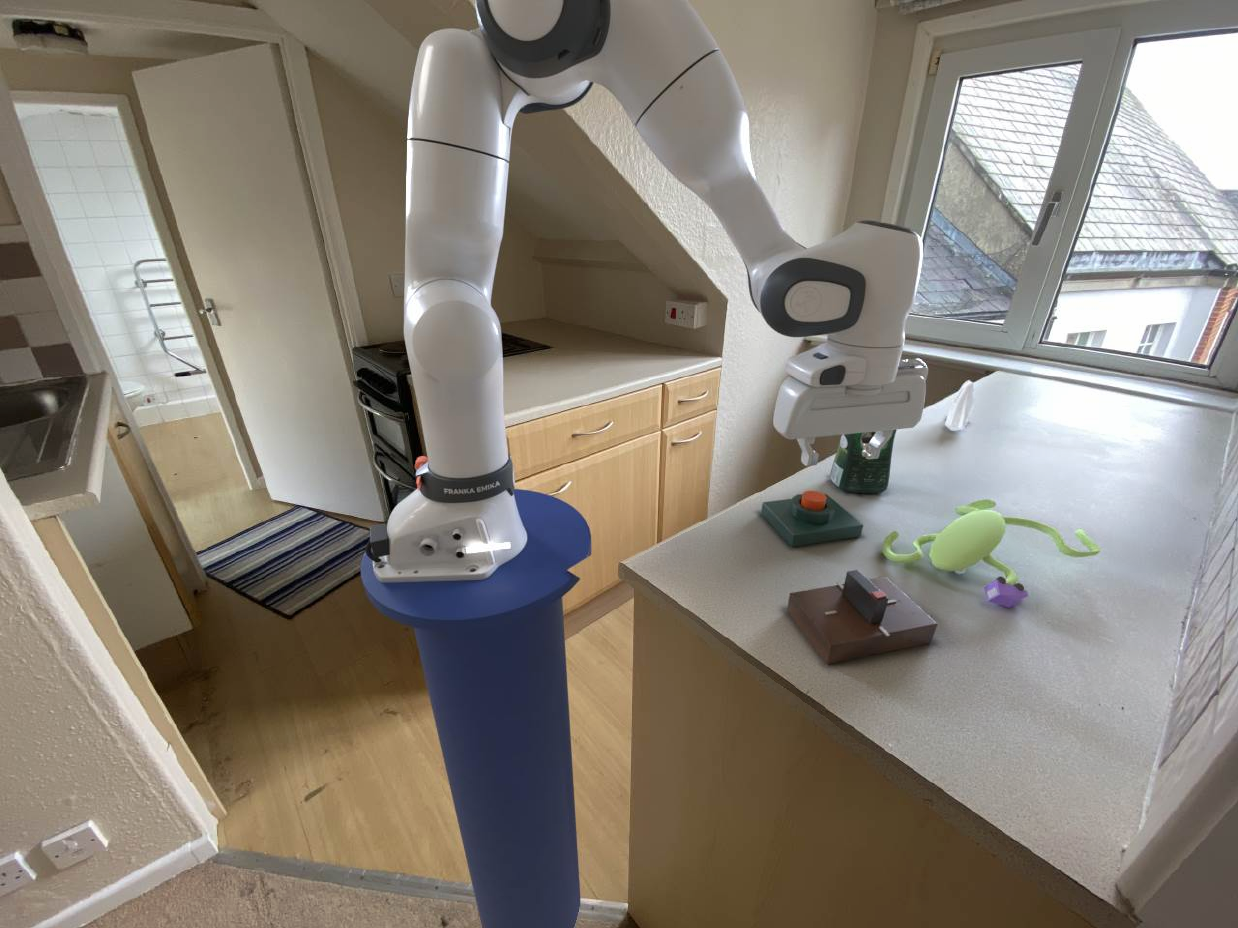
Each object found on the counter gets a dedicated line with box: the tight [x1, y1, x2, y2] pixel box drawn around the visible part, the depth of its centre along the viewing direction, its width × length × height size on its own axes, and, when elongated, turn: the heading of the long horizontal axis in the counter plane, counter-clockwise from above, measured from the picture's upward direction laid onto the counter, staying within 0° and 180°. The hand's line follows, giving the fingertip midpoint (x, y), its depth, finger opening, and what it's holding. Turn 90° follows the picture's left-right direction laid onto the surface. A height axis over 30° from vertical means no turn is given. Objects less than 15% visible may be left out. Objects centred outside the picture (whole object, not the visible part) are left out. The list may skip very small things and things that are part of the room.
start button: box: [801, 490, 826, 511], centre depth 84 cm, size 4×4×2 cm
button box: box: [760, 493, 864, 548], centre depth 85 cm, size 12×10×4 cm
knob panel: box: [786, 576, 938, 665], centre depth 65 cm, size 14×10×3 cm
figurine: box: [881, 499, 1101, 608], centre depth 76 cm, size 18×27×6 cm
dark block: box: [842, 569, 888, 624], centre depth 63 cm, size 6×2×4 cm, turn 14°
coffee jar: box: [829, 429, 898, 494], centre depth 94 cm, size 10×8×19 cm
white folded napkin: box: [944, 379, 976, 432], centre depth 121 cm, size 12×4×11 cm, turn 143°
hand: (839, 460), depth 73 cm, fingers open, 8 cm apart
